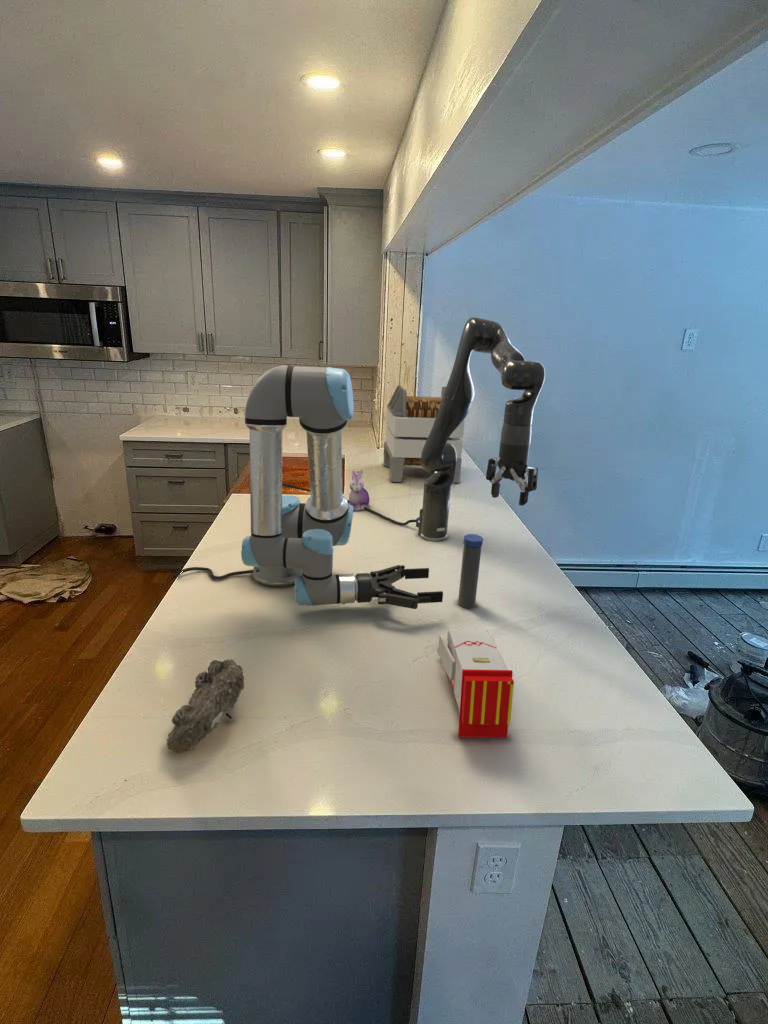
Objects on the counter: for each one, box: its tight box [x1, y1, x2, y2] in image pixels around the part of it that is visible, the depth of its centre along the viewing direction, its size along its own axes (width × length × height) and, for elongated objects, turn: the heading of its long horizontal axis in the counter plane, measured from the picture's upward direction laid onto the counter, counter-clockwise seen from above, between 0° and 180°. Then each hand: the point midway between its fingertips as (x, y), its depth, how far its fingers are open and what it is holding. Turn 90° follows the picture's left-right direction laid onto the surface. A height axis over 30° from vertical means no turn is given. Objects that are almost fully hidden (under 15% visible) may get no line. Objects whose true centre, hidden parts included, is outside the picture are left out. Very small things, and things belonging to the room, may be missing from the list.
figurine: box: [348, 469, 370, 511], centre depth 222 cm, size 9×10×15 cm
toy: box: [437, 628, 515, 738], centre depth 117 cm, size 12×13×30 cm
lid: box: [462, 533, 484, 548], centre depth 148 cm, size 5×5×2 cm
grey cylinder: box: [457, 544, 483, 609], centre depth 151 cm, size 5×5×19 cm
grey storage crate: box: [383, 384, 465, 484], centre depth 268 cm, size 34×33×41 cm
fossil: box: [166, 658, 245, 754], centre depth 106 cm, size 22×10×15 cm
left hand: (435, 584), depth 150 cm, fingers open, 13 cm apart
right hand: (508, 500), depth 151 cm, fingers open, 8 cm apart
